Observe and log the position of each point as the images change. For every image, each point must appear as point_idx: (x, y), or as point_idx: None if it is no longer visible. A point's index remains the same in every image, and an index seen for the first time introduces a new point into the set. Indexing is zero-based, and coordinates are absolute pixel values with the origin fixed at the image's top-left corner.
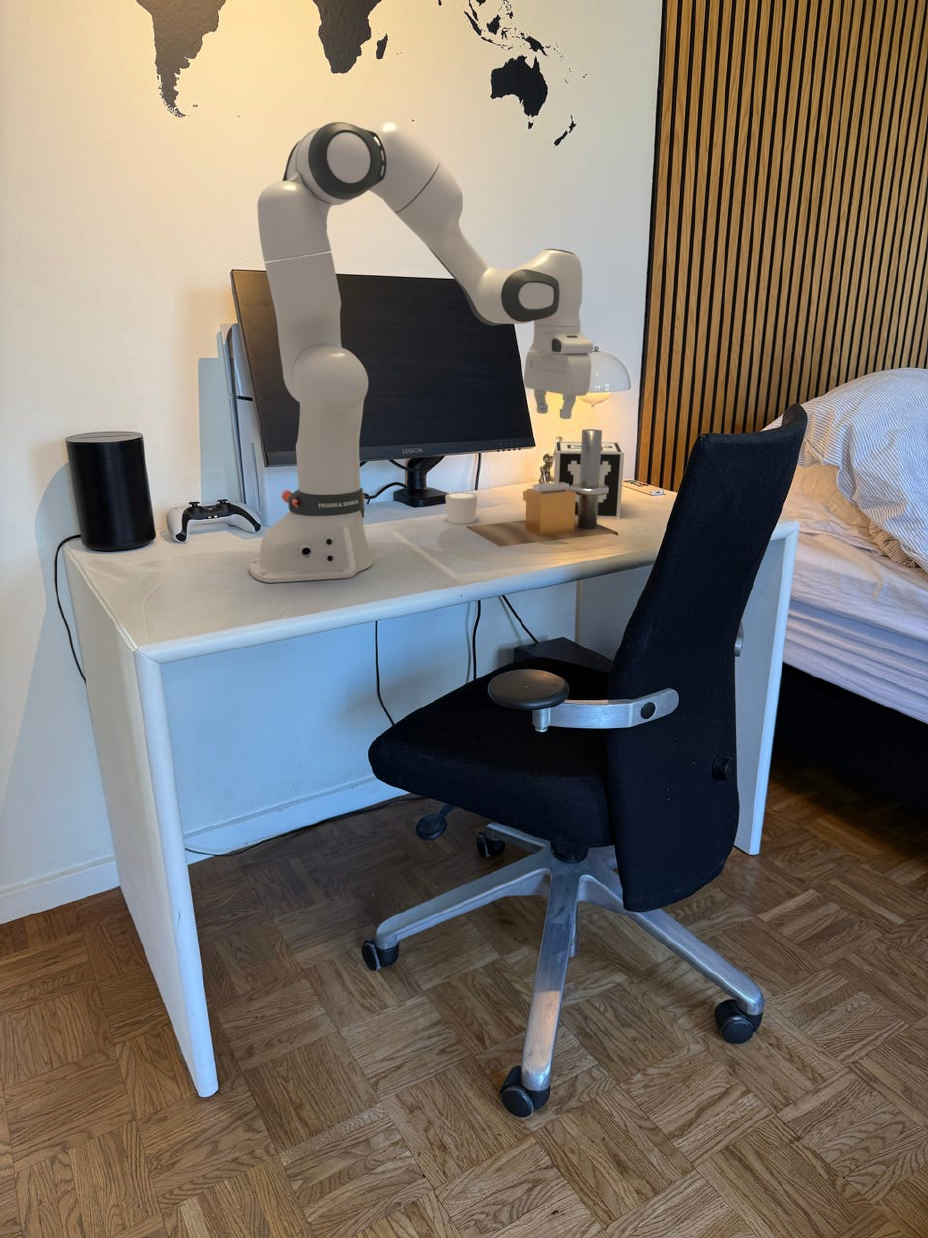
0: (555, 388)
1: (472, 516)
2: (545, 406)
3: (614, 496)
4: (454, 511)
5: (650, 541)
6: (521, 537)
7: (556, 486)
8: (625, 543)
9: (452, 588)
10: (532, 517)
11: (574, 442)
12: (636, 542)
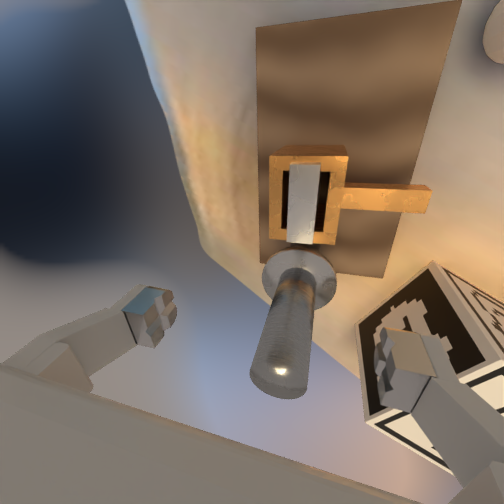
0: (20, 416)
1: (498, 40)
2: (381, 381)
3: (364, 344)
4: None
5: (241, 281)
6: (295, 107)
7: (288, 211)
8: (243, 254)
9: None
10: (314, 148)
11: None
12: (242, 267)
